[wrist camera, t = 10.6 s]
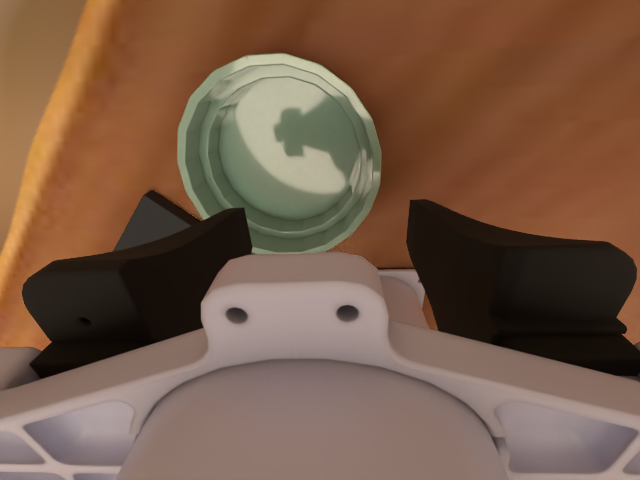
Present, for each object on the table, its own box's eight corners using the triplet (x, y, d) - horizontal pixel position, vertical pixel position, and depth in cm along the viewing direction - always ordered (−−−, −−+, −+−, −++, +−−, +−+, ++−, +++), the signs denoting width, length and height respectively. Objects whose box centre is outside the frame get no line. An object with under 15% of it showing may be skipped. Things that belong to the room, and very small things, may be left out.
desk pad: (186, 380, 35) (181, 390, 34) (76, 327, 31) (67, 336, 30) (285, 277, 27) (283, 285, 26) (151, 189, 23) (143, 194, 22)
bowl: (369, 227, 24) (376, 257, 20) (225, 230, 25) (204, 259, 21) (376, 52, 18) (387, 46, 14) (187, 64, 19) (148, 60, 15)
